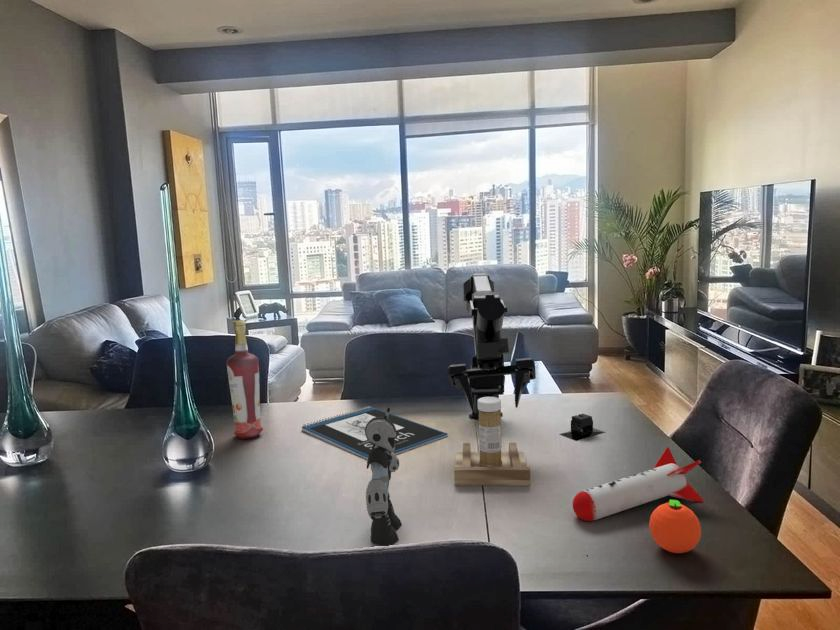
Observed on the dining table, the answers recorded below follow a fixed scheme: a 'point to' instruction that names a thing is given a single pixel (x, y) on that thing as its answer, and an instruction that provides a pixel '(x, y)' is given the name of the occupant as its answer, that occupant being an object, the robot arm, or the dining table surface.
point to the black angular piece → (581, 428)
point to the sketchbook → (352, 432)
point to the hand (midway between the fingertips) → (494, 408)
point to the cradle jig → (491, 468)
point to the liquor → (244, 386)
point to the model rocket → (636, 490)
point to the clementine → (675, 527)
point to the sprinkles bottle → (490, 431)
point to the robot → (381, 480)
